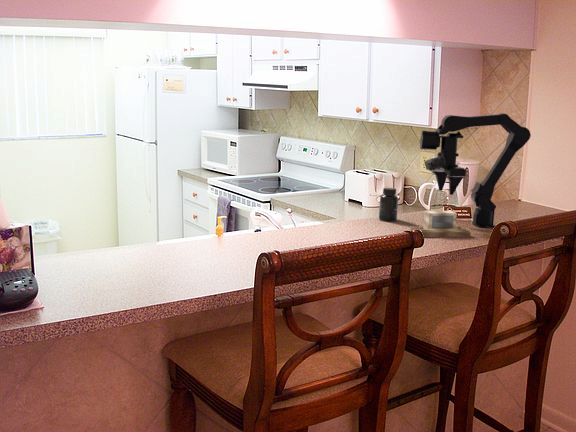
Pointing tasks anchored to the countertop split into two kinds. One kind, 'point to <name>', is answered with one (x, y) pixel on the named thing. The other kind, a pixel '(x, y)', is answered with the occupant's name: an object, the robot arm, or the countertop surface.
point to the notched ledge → (444, 232)
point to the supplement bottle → (388, 205)
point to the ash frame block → (440, 220)
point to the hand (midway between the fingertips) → (445, 192)
